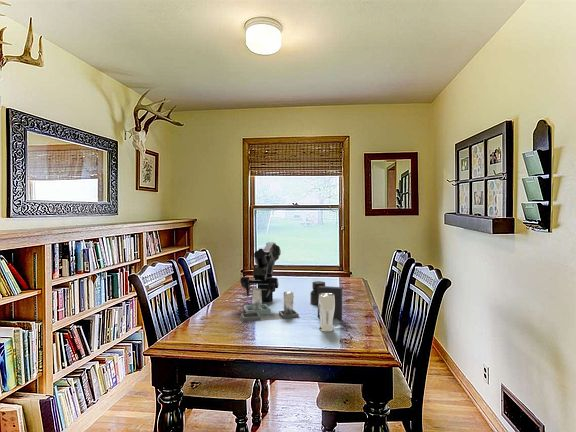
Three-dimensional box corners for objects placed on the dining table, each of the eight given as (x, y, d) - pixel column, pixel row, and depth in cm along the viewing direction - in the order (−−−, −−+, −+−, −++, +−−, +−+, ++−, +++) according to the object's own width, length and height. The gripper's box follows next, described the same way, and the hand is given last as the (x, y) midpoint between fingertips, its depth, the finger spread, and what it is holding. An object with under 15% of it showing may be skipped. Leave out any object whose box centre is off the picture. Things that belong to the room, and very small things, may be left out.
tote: (266, 309, 208) (266, 304, 208) (270, 315, 197) (270, 309, 197) (244, 311, 205) (244, 305, 205) (247, 316, 194) (247, 311, 194)
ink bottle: (331, 304, 218) (331, 282, 218) (320, 307, 212) (320, 284, 212) (316, 301, 225) (316, 280, 225) (306, 304, 219) (306, 282, 218)
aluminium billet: (260, 310, 204) (260, 288, 204) (262, 312, 199) (262, 289, 199) (251, 310, 203) (251, 288, 202) (253, 312, 198) (253, 290, 198)
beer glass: (317, 327, 177) (317, 292, 177) (333, 327, 178) (333, 292, 178) (319, 332, 170) (319, 296, 170) (336, 331, 171) (336, 296, 171)
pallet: (295, 314, 199) (295, 309, 199) (300, 320, 189) (300, 314, 189) (239, 318, 192) (239, 312, 192) (242, 324, 182) (242, 318, 182)
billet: (292, 314, 195) (291, 291, 195) (294, 316, 191) (294, 293, 191) (282, 314, 194) (282, 291, 194) (285, 317, 190) (285, 293, 190)
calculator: (342, 319, 191) (342, 286, 190) (340, 321, 187) (340, 288, 186) (319, 317, 194) (319, 285, 194) (317, 319, 190) (317, 287, 190)
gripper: (241, 260, 207) (235, 286, 196) (277, 261, 204) (273, 287, 193) (245, 274, 215) (239, 299, 204) (280, 274, 212) (276, 300, 201)
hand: (256, 296), depth 201 cm, fingers open, 9 cm apart
